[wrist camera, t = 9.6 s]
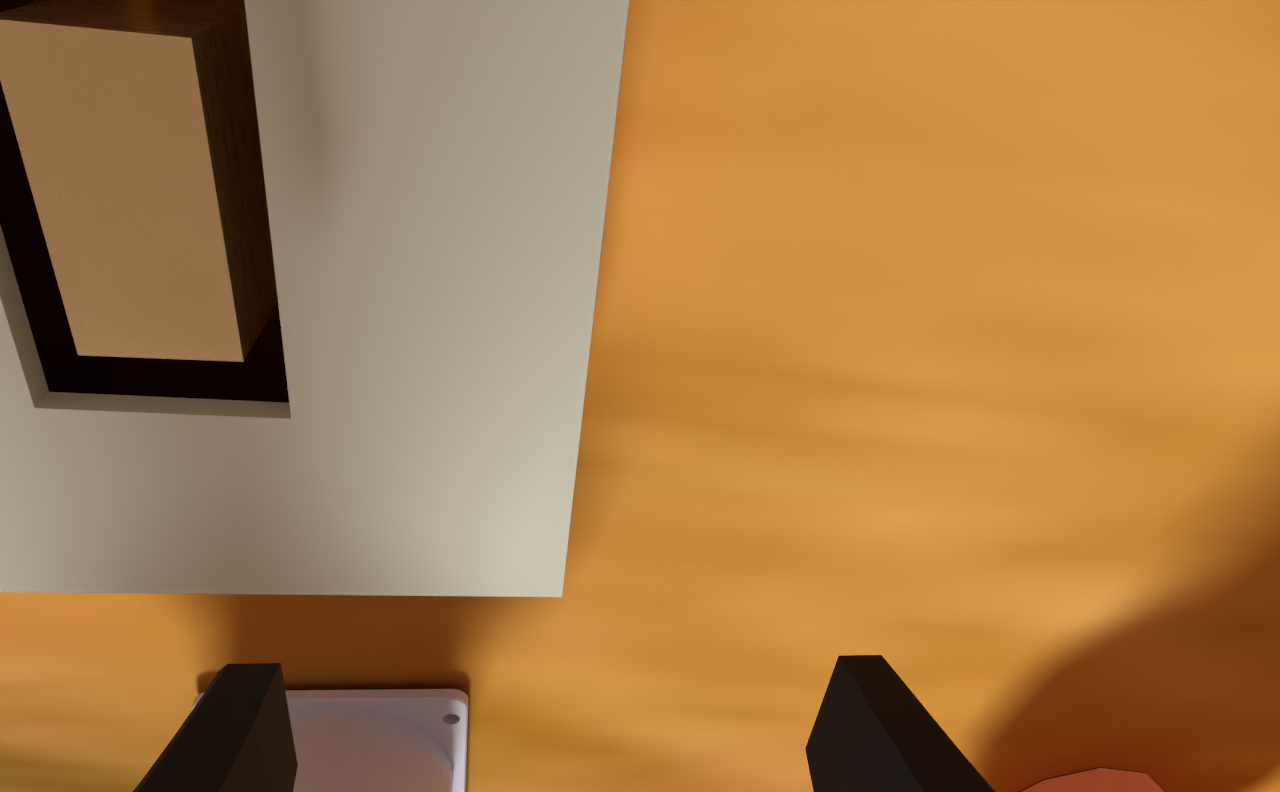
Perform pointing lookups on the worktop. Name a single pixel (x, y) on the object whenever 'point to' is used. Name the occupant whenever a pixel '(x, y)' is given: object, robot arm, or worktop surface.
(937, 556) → the worktop surface
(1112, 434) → the worktop surface
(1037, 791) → the potted cactus
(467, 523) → the box
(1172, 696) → the worktop surface
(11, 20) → the wooden block
